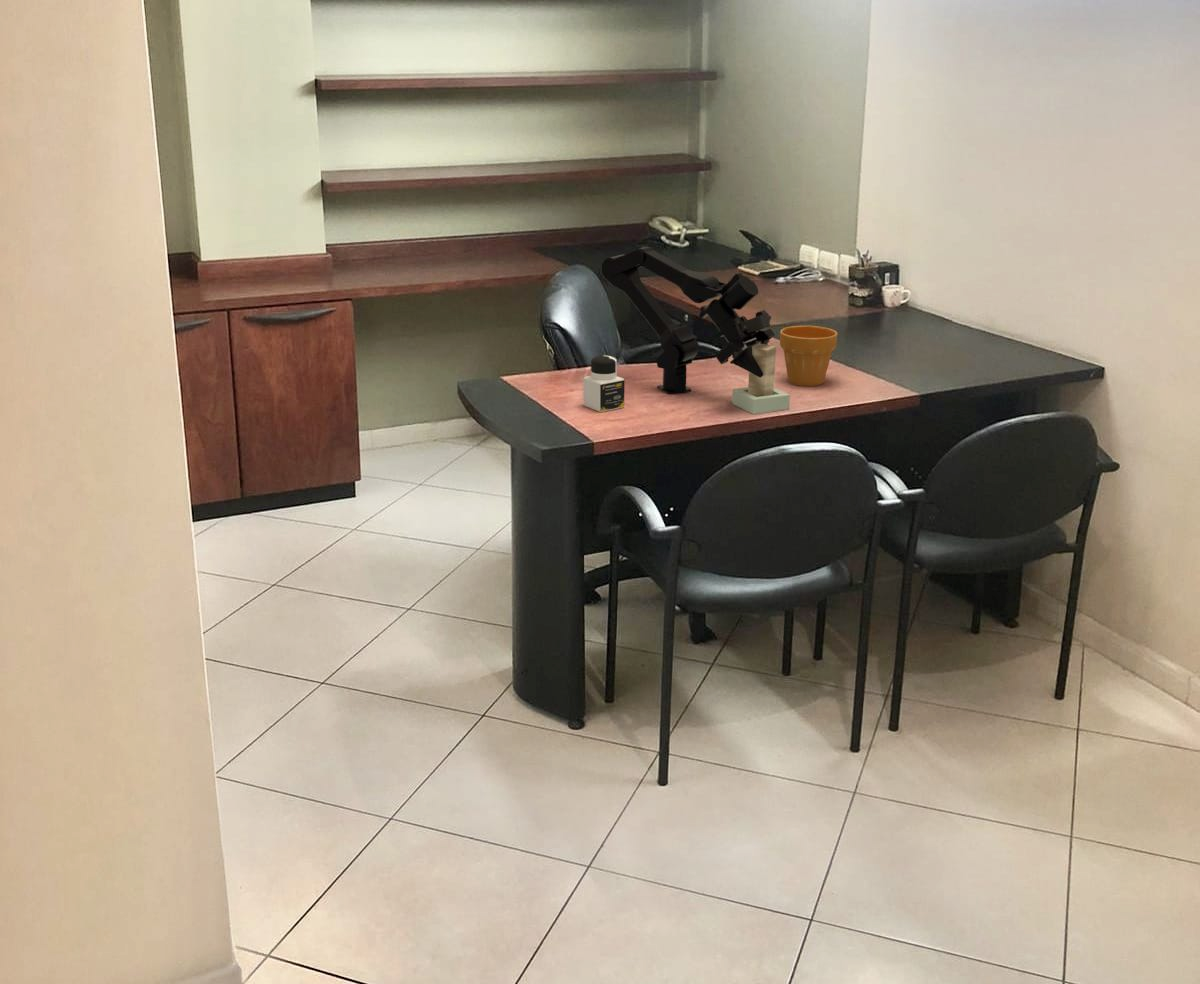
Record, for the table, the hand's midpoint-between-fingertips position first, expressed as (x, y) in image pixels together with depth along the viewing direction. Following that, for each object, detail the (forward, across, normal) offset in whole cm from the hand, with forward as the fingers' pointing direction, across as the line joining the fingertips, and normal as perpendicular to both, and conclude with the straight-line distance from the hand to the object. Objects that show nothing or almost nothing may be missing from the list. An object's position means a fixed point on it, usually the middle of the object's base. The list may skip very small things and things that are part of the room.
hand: (766, 374), depth 287 cm
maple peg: (+4, 0, +6) cm, 7 cm away
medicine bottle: (-16, -22, +28) cm, 39 cm away
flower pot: (+4, +26, +8) cm, 27 cm away
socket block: (+5, 0, +7) cm, 8 cm away
